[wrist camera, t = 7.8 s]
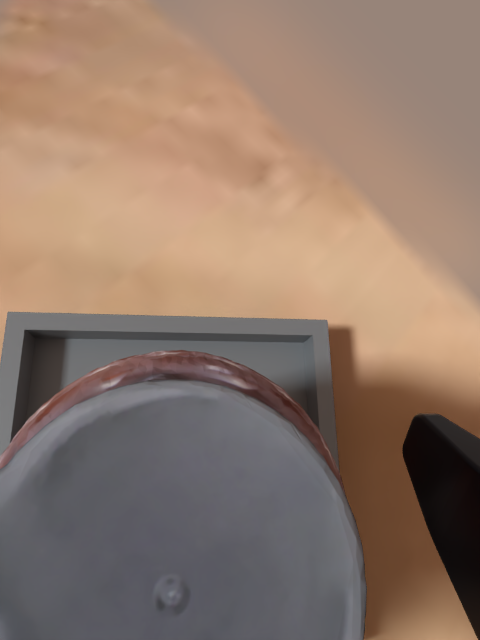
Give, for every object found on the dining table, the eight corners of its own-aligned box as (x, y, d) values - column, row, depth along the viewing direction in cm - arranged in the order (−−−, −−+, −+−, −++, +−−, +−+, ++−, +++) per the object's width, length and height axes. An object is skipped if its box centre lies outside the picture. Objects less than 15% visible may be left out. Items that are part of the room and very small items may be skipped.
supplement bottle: (287, 454, 16) (547, 471, 5) (201, 623, 14) (314, 1283, 3) (148, 369, 16) (96, 198, 5) (43, 525, 14) (-420, 804, 3)
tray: (334, 649, 14) (355, 676, 13) (-21, 683, 13) (-51, 720, 11) (312, 332, 18) (327, 320, 16) (25, 326, 16) (7, 311, 14)
